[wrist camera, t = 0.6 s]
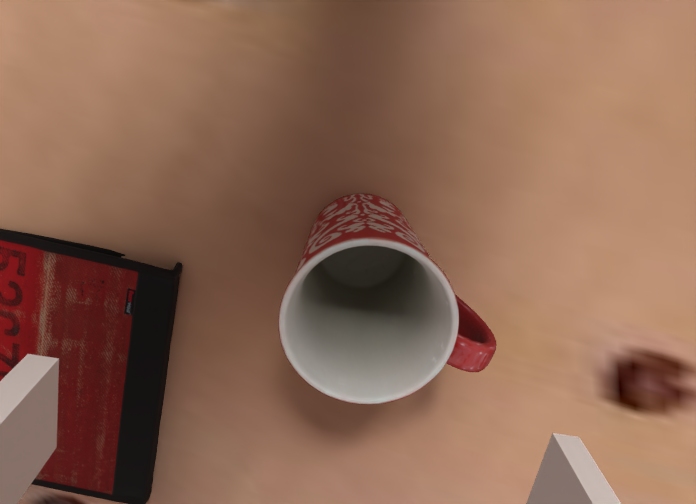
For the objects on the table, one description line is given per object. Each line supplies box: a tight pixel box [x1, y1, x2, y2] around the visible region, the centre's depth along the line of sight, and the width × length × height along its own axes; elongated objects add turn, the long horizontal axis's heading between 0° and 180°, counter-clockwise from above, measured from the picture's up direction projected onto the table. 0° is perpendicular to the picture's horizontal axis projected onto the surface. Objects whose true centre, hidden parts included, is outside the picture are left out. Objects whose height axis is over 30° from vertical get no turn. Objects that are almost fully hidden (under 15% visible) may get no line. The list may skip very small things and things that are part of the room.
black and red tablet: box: [0, 229, 183, 504], centre depth 43 cm, size 16×2×21 cm
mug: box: [278, 194, 496, 404], centre depth 35 cm, size 13×9×14 cm
